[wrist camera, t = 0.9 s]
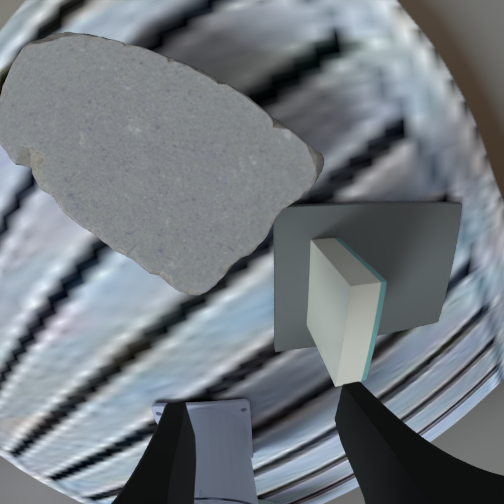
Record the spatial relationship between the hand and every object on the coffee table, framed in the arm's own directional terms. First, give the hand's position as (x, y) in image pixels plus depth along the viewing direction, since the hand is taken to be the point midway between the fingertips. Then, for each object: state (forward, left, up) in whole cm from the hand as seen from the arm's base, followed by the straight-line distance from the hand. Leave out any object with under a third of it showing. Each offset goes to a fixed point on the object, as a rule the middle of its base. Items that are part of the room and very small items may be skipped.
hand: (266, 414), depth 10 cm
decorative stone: (+8, +4, -11) cm, 14 cm away
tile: (0, -5, -10) cm, 11 cm away
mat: (0, -9, -10) cm, 14 cm away
